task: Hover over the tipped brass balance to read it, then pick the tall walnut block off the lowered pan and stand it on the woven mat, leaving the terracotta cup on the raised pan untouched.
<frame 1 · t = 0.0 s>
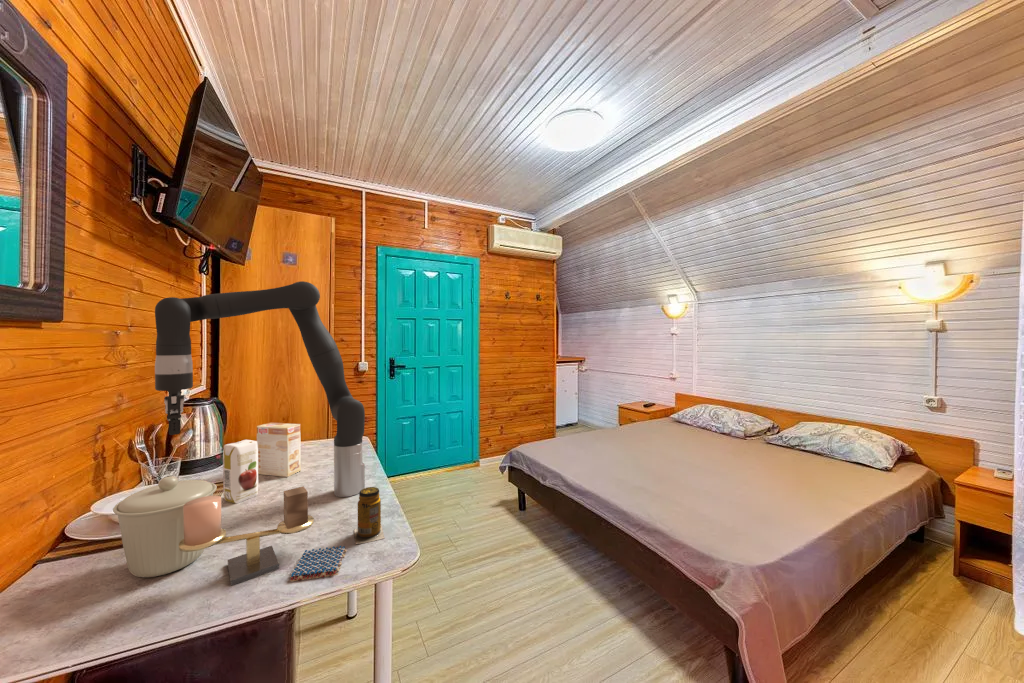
hand: (175, 431, 99), 29 cm above the table, fingers open, 8 cm apart
juice carton: (241, 498, 124), on the table
balance: (253, 566, 87), on the table
canister: (169, 564, 88), on the table
coffeecake box: (279, 473, 148), on the table
block: (295, 522, 93), point 7 cm above the table, touching balance
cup: (203, 537, 81), point 10 cm above the table, touching balance
condiment: (369, 535, 101), on the table
woven mat: (319, 568, 87), on the table
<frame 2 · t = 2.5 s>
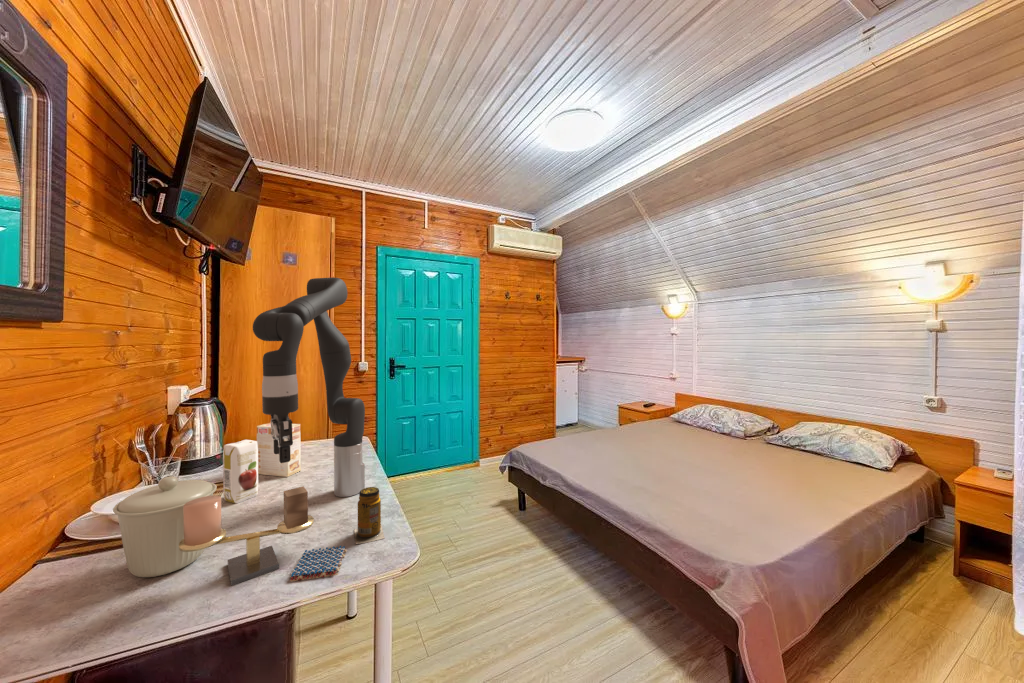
hand: (281, 457, 91), 25 cm above the table, fingers open, 8 cm apart
nothing on the table moved.
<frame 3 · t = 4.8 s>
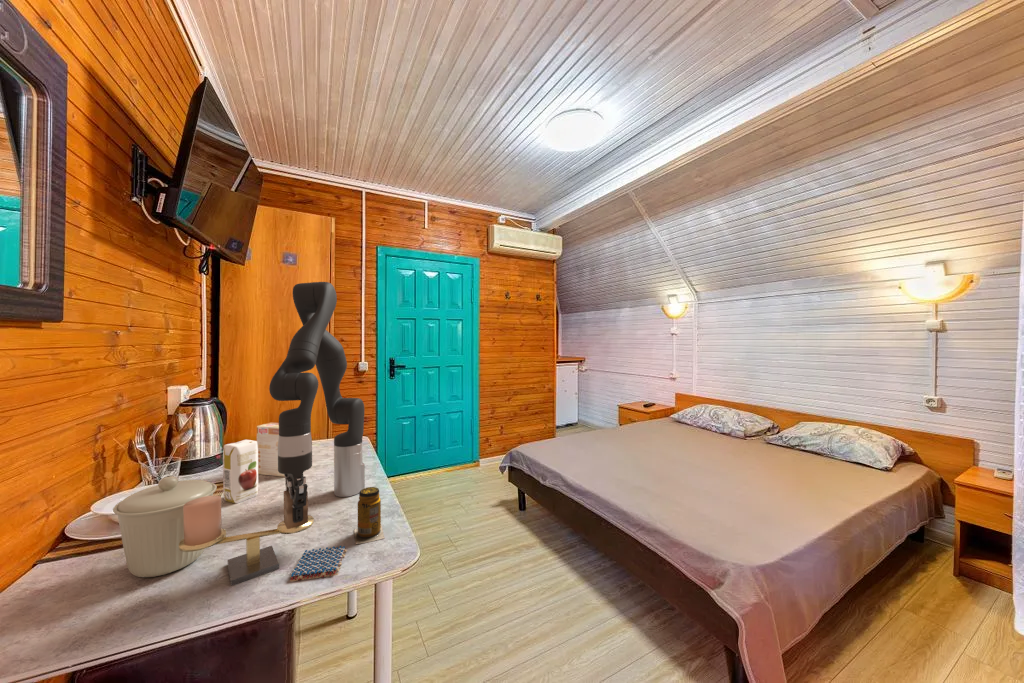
hand: (295, 517, 93), 9 cm above the table, fingers closed on block, 4 cm apart
block: (295, 522, 93), point 7 cm above the table, touching balance, gripper
everything else where it was.
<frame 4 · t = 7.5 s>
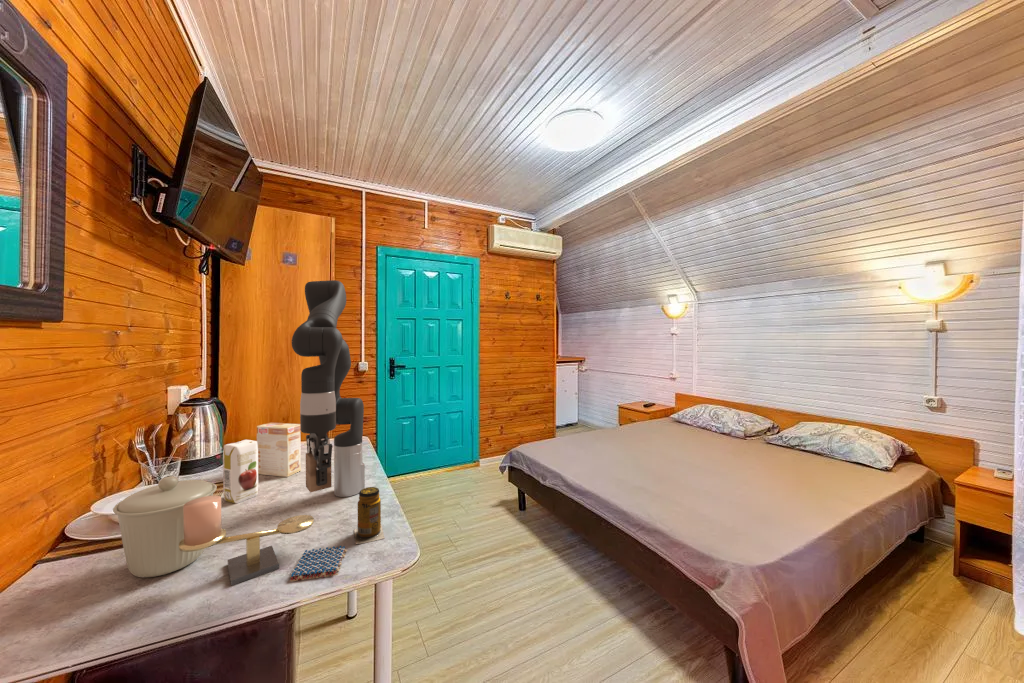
hand: (318, 481, 87), 20 cm above the table, fingers closed on block, 4 cm apart
block: (318, 486, 87), point 19 cm above the table, touching gripper
everything else where it was.
when the fingers open (5 cm above the table, at t = 10.1 s): block drops 2 cm, resting on woven mat.
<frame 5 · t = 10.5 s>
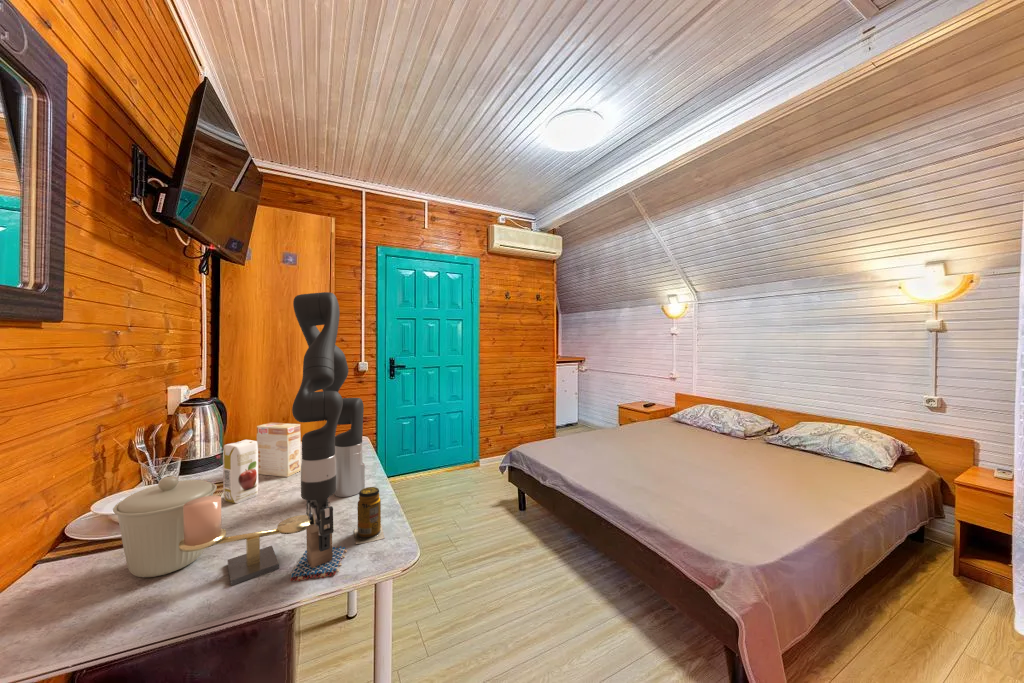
hand: (319, 542, 87), 6 cm above the table, fingers open, 8 cm apart
block: (319, 559, 87), point 1 cm above the table, touching woven mat
woven mat: (319, 568, 87), on the table, touching block
everything else where it was.
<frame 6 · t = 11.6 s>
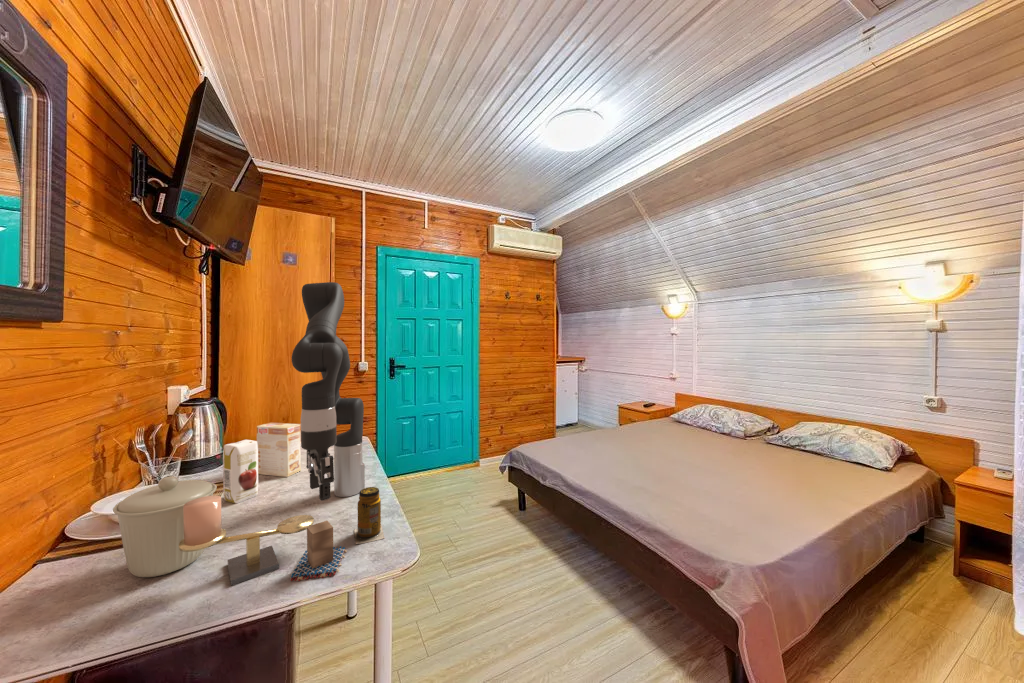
hand: (319, 493, 87), 17 cm above the table, fingers open, 8 cm apart
nothing on the table moved.
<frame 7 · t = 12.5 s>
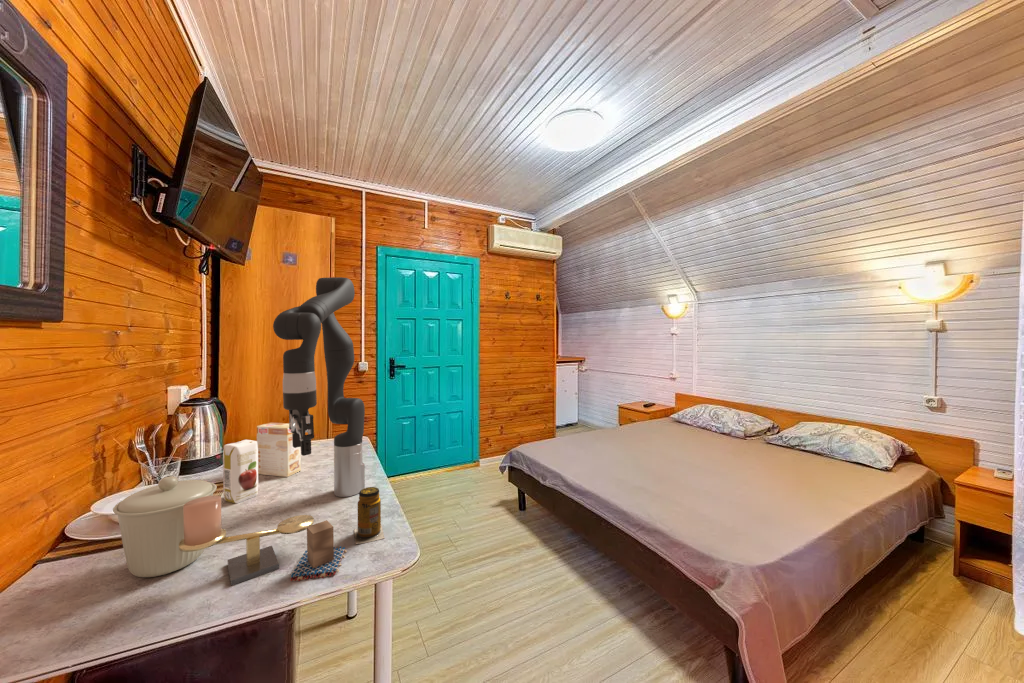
hand: (301, 450, 95), 25 cm above the table, fingers open, 8 cm apart
nothing on the table moved.
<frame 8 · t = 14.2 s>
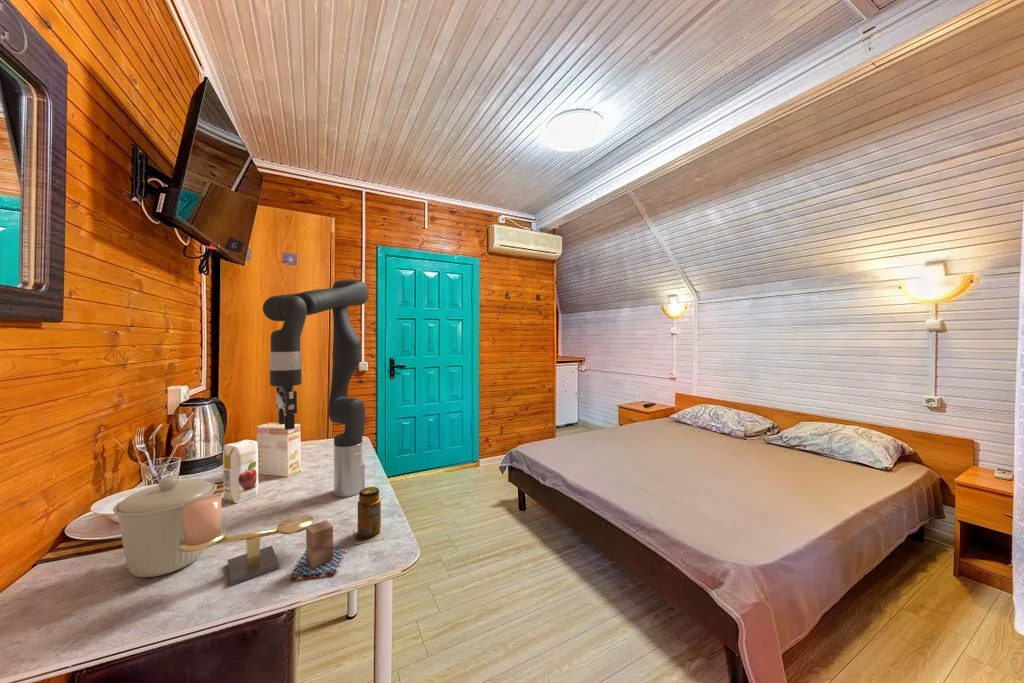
hand: (286, 426, 101), 30 cm above the table, fingers open, 8 cm apart
nothing on the table moved.
at the end: block inside the target area on the woven mat (0.2 cm from its centre), point 2.4 cm above the woven mat's base; the gripper is holding nothing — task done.
